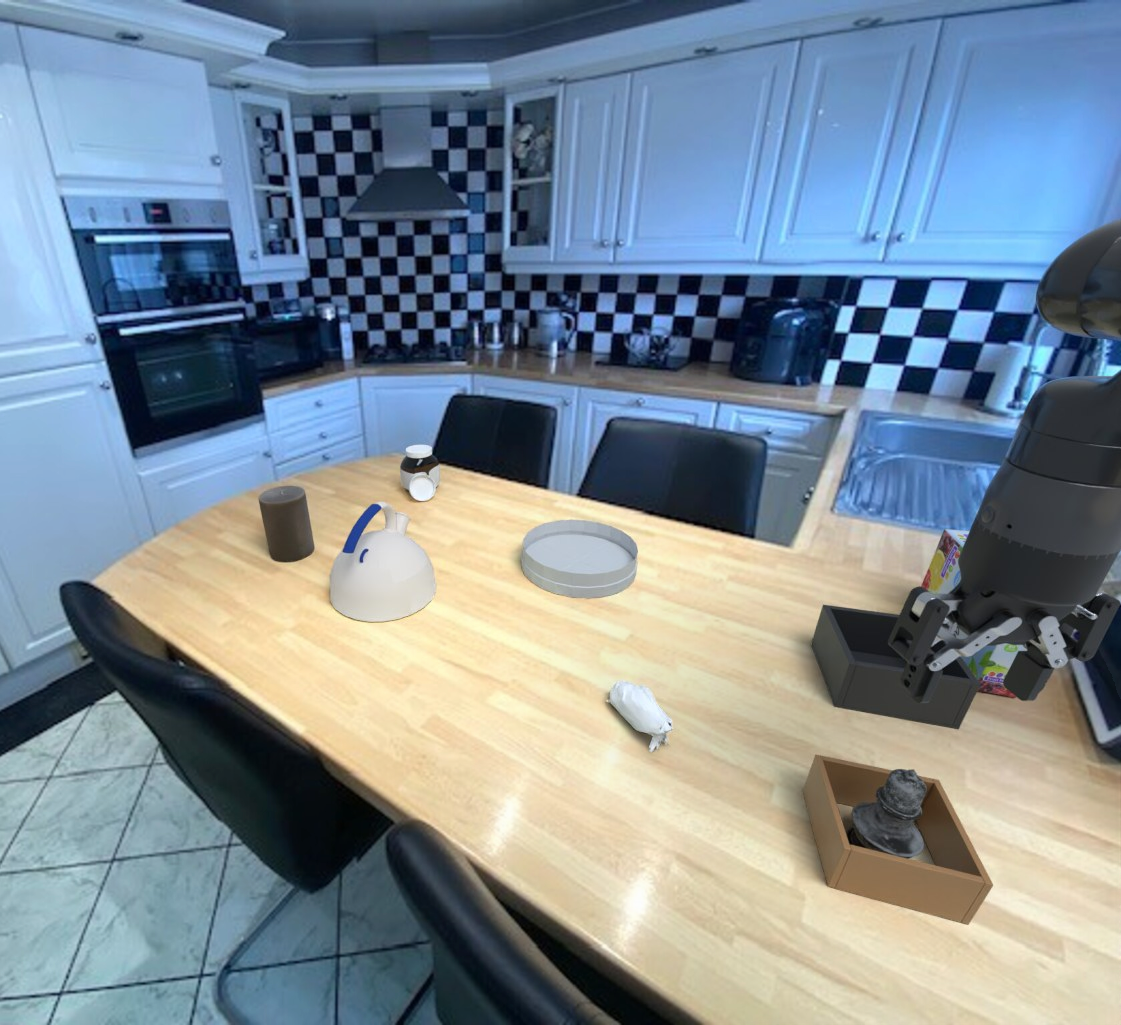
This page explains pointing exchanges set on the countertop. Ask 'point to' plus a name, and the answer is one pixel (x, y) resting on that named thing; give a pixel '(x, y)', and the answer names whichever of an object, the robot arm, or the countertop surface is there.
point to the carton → (890, 878)
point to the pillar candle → (286, 523)
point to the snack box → (941, 580)
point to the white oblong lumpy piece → (641, 711)
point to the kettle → (381, 571)
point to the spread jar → (420, 472)
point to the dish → (579, 558)
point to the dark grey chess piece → (891, 817)
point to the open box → (883, 670)
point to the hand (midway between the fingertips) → (965, 694)
